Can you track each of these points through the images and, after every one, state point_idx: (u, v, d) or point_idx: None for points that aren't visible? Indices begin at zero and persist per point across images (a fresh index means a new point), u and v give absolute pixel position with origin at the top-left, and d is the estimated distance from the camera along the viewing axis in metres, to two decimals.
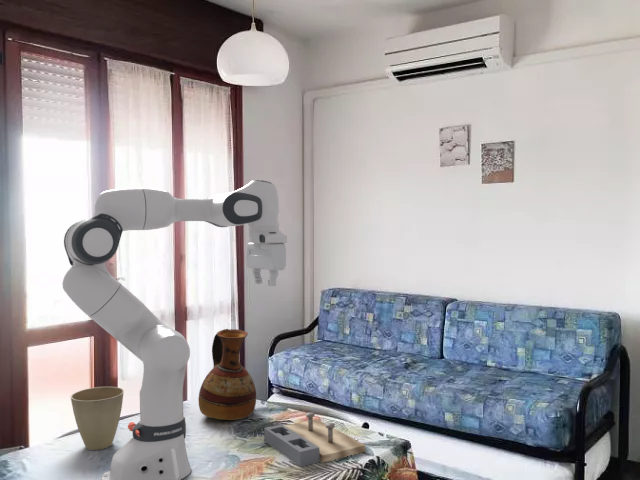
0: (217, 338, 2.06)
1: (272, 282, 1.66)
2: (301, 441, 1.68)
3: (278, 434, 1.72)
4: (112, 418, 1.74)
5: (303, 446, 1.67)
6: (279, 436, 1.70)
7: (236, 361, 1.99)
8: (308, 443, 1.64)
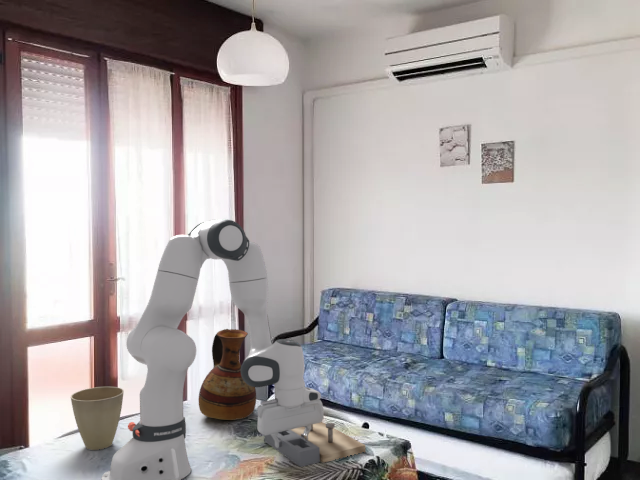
0: (217, 338, 2.06)
1: None
2: (301, 441, 1.68)
3: (278, 434, 1.72)
4: (112, 418, 1.74)
5: (303, 446, 1.67)
6: (279, 436, 1.70)
7: (236, 361, 1.99)
8: (308, 443, 1.64)
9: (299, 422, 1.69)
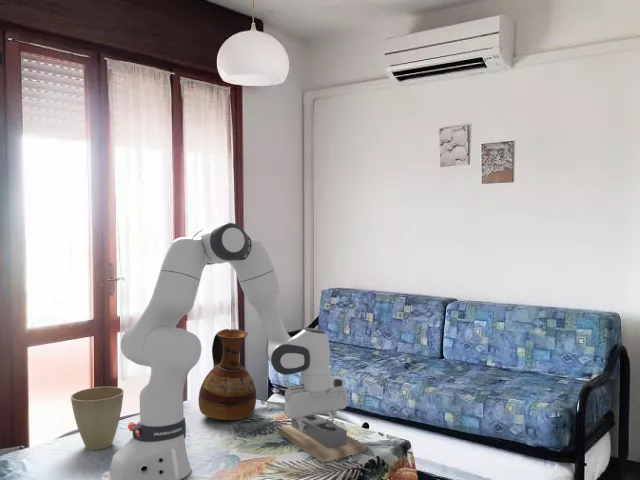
0: (217, 338, 2.06)
1: None
2: None
3: (305, 419, 1.79)
4: (112, 418, 1.74)
5: None
6: (306, 421, 1.78)
7: (236, 361, 1.99)
8: (335, 427, 1.72)
9: (324, 407, 1.77)
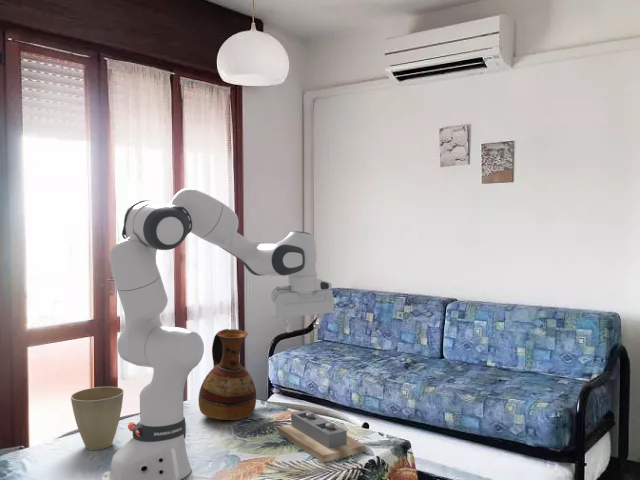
0: (217, 338, 2.06)
1: None
2: None
3: (305, 419, 1.79)
4: (112, 418, 1.74)
5: None
6: (306, 421, 1.78)
7: (236, 361, 1.99)
8: (335, 427, 1.72)
9: (311, 309, 1.78)
